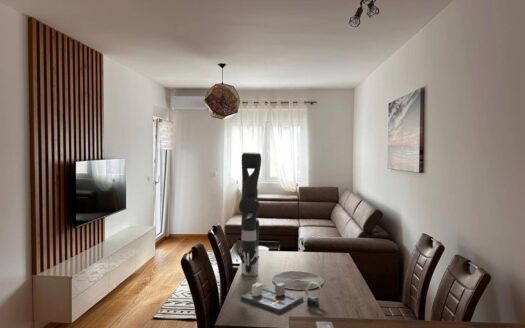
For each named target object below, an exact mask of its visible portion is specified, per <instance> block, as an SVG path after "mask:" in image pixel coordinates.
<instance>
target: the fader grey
mask: <svg viewBox="0 0 525 328" xmlns="http://www.w3.org/2000/svg"><path fill="white" fill-rule="evenodd" d="M274 288H275V295H278V296H281V295H283V294H285V291H286V283H284V282H279V283H276V284H275V285H274Z"/></svg>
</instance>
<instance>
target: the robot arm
mask: <svg viewBox="0 0 525 328" xmlns="http://www.w3.org/2000/svg"><path fill="white" fill-rule="evenodd" d="M261 167H262V155H261V153H260V152H248V151H246V152H242V154H241V176H242V179H241V183H242V185H241V199H240V202H239V205H238V211H239V212H240V213H241V220H240V221H241V223H240V231H241V239H240V240H241V244H240V245H241V251H239V252H238V253H237V255H238V257H239V258H240V261H241V274H242V275H243V276H245V277H254V276H255V277H256V276H258V274H259V259H260V255H259V250H260V249H259V240H260V239H259V237H260V221H259V219H258V214H259V211H260V207H261V204H260V201H258V197H259V196H258V194H259V192H258V182H259V178H260V172H261ZM248 169H249V170H253V171H252V173H251V174H249V171H248ZM250 214H251V216H249V215H250Z"/></svg>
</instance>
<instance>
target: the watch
mask: <svg viewBox="0 0 525 328" xmlns="http://www.w3.org/2000/svg"><path fill="white" fill-rule="evenodd" d="M312 285H316V286H317V287H318V288H319V291H318V294H317V295H316V296H315V295H310V294H309V293H308V291H309V289H310V288H311V287H312ZM304 293H305V295H306V297H307V300H306V301H307V303H306V306H307V307H312V308H317V306H318V304H319V298H320V295H321V293H322V287H321V284H320V283H318V282H317V281H314V280H313V281H310V282H309V283H307V285H306V286H305V288H304Z"/></svg>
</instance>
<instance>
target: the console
mask: <svg viewBox="0 0 525 328" xmlns="http://www.w3.org/2000/svg"><path fill="white" fill-rule="evenodd" d="M240 301H243V302H245V303H248V304H252V305H254V306H257V307H260V308H263V309H265V310H268V311H271V312H272V313H273V312H274V313H276V314H280V315H281V314H282V313H284V312H285V310H286V311H287V310H288V309H291V308H293V307H294V306H297V305H298V304H299V303H301V302H303V301H304V296H303V295H299V294H296V293H293V292H289V291H286V290H285V294H283V295H281V296H278V295H275V286H274V287H273V286H271V285H267V284H265V285H262V294H261V295H259V296H257V297H256V296H253V295H252V290H251V291H249V292H247V293H244V294H242V295H240ZM292 306H293V307H292Z"/></svg>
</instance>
